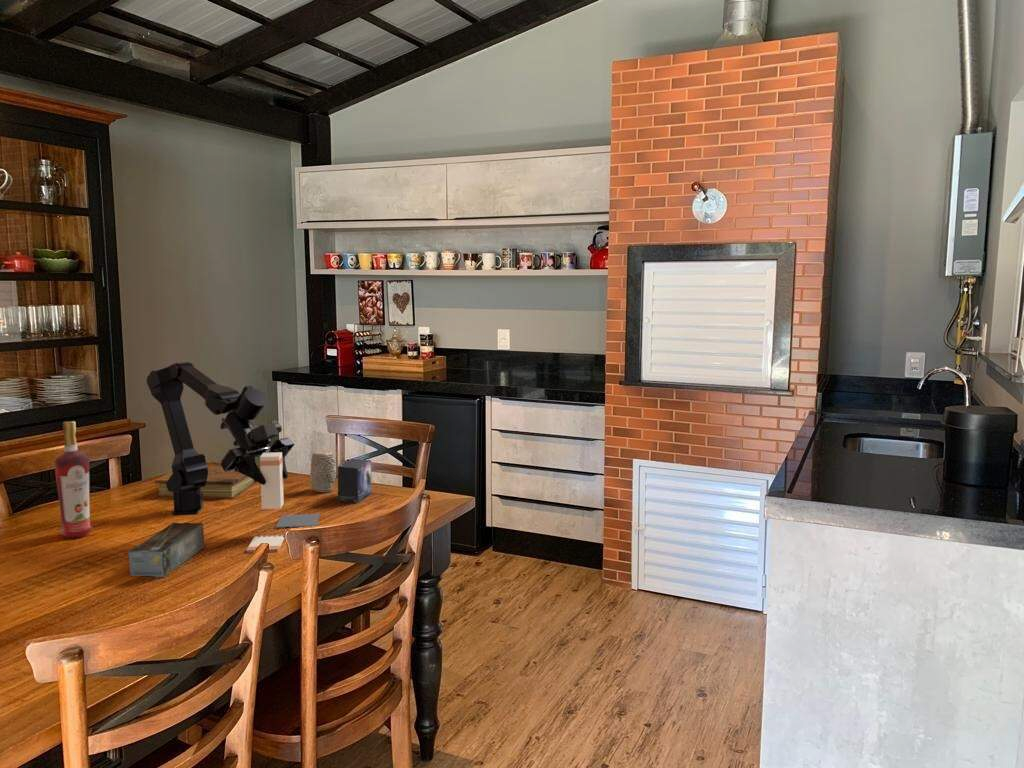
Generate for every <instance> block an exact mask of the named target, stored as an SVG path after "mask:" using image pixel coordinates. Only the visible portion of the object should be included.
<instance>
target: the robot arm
mask: <svg viewBox="0 0 1024 768" xmlns="http://www.w3.org/2000/svg"><path fill="white" fill-rule="evenodd" d="M146 384H147V386H148V389H149V391H150V393H151V396H152V397H153V398H154V399H155V400H156V401H158V403H159V404H160V405H161V408H162V413H163V416H164V420H165V424H166V427H167V431H168V434H169V438H170V440H171V446H172V449H173V452H174V453H173V454H174V458H173V461H172V465H171V472H173V474H172V475H171V477H170V478H169V480H168V481H167V483H166V486H167V489H168V491H171V492H173V497H174V498H173V511H171V514H172V515H186V514H187V515H188V514H189V515H194V514H198V513H199V512H200V511H201V510H202V509H203V508H204V499H203V493H202V492H201V489H200V487H205V486H206V482H207V477H208V464H207V461H206V456H205V454H203V453H199V452H198V451H197V450H196V449H195V447H194V443H193V440H192V439H193V438H192V436H191V433H190V428H189V425H188V422H187V419H186V414H185V412H184V407H183V403H182V400H181V399H182V395H183V392H184V387H185V386H187V387H188V388H189V389H191V390H192V391H193V392H195V393H196V394H197V395H199V396H200V397H202V399H203V400H204V405H205V407H206V408H207V409H208V410H209V411H210V412H211V413H212V414H213V415H215V416H219V415H225V414H226V416H225V417H222V418H221V424H220V426H219V427H220V430H225V429H226V430H228V431H229V433H230V434H231V435H232V437H233V439H234V441H233V445H234V447H235V448H231V449H228V451H227V452H226V454H224V457H223V458H222V459H221V460H220V466H221V467H222V468H223V470H224V471H225V472H227V471H231V470H234V469H235V470H234V471H235V472H239V473H242V474H244V475H246V476H248V477H250V478H252V479H254V480H255V481H257V482H258V484H260V485H261V484H262V485H265V484H266V480H265V478H264V476H263V475H262V473H261V471H260V467H259V466H258V465H257V463H256V458H260V456H261V455H262V454H263V453H277V452H282V458H283V461H282V465H283V480H285V479H287V478H288V477H289V475H288V470H287V465H286V461H285V460H286V459H285V458H286V457H287V455H288V453H290V452H291V450H292V449H293V447H294V446H295V443H294V442H293V440H292V439H291V437H284V438H278V439H275V441H274V442H273V444H272V445H271V446H268V445H269V444H271V442H272V440H271V439H272V438H275V437H278V436H279V435H280V433H282V430H283V429H282V425H281V423H280V422H279V421H278V420H275V419H274V420H271V421H270V422H268V423H267V424H262V425H258V426H256V425H255V424H254V423H253V420H256V419H257V418H258V417H259V415H260V414H261V412H262V410H264V408H265V407H266V405H267V404H268V397H267V395H266V393H263V392H262V391H261V390H260V389H257V388H254V387H253V385H245V386H244V387H243V388H242V391H241V393H240V392H239V391H238V390H236V389H235V388H232V387H230V386H226V385H221V384H218V383H216V382H215V381H214V380H212V379H211V378H210V377H209V376H207V375H206V374H204V373H203V372H201V371H200V370H199V369H197V368H196V367H195V366H194V364H193V363H192V362H188V361H183V362H173V364H171V365H169V366H166V367H164V368H160V369H158V370H152V371H150V373H149V375H148V376H147V377H146ZM184 385H185V386H184Z"/></svg>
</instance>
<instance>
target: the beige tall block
mask: <svg viewBox="0 0 1024 768" xmlns="http://www.w3.org/2000/svg"><path fill="white" fill-rule="evenodd" d="M282 461H283V458H282V452H277V453H263V454H262V455H261V456H260V457H259V470H260V471H261V473H262V475H263V476H264V478H265V480H266V484H265V485H262V484H261V483H260V495H261V499H260V500H261V510H269V509H270V510H277V509H282V508H283V505H284V503H285V501H284V478H283V465H282Z"/></svg>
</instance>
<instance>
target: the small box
mask: <svg viewBox="0 0 1024 768" xmlns="http://www.w3.org/2000/svg"><path fill="white" fill-rule="evenodd" d="M370 495H372V459H371V460H370V459H360V458H350V459H349V460H347V461H345V462H344V463H341V464H340V465H338V466H337V502H338V501H339V503H348V502H355V503H354V504H358V503H360V502H362V501H363V500H365V499H366V498H368V497H369V496H370ZM359 501H360V502H359ZM357 502H358V503H357Z"/></svg>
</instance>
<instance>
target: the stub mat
mask: <svg viewBox="0 0 1024 768" xmlns="http://www.w3.org/2000/svg"><path fill="white" fill-rule="evenodd" d="M319 517H320V518H321V513H309V514H307V513H306V514H303V513H302V514H281V516H280V518H279V520H278V522H276V525H275V526H274V529H287V528H286V527H289V528H288V529H294V528H293V527H302V528H305V527H304V526H316V525H318V522H319V520H320V518H319ZM318 519H319V520H318ZM293 525H295V526H293ZM316 527H317V526H316Z"/></svg>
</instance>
